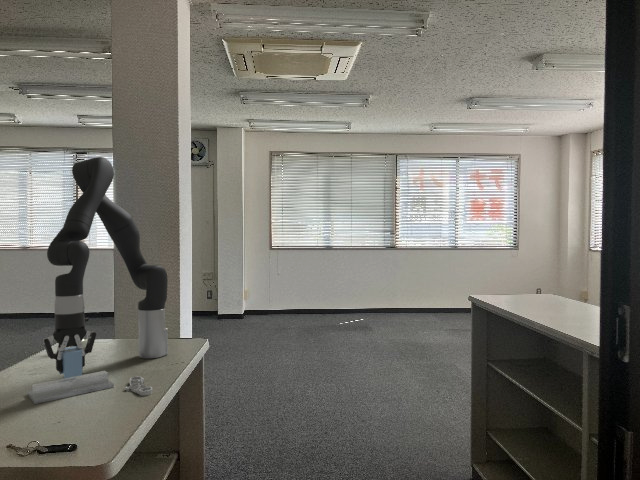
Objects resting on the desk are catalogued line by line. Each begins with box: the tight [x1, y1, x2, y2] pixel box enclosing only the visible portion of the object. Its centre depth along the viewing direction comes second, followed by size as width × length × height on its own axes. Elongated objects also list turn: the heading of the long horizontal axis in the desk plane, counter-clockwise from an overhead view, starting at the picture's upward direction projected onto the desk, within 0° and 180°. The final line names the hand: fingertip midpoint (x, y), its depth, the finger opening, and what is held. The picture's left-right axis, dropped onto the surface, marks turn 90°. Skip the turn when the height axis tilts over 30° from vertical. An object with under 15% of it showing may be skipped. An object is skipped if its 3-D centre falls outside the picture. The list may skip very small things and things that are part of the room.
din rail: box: [27, 370, 115, 405], centre depth 133 cm, size 20×10×4 cm, turn 131°
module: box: [59, 347, 83, 379], centre depth 133 cm, size 4×7×7 cm
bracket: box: [125, 375, 153, 397], centre depth 135 cm, size 8×2×15 cm
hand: (70, 370), depth 133 cm, fingers closed on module, 4 cm apart
